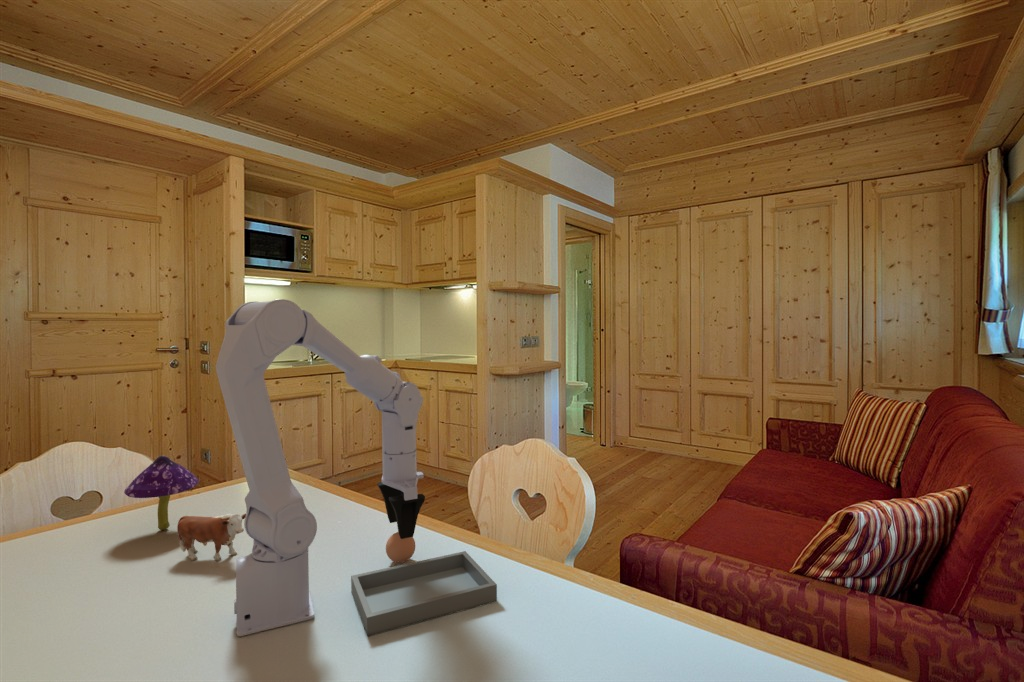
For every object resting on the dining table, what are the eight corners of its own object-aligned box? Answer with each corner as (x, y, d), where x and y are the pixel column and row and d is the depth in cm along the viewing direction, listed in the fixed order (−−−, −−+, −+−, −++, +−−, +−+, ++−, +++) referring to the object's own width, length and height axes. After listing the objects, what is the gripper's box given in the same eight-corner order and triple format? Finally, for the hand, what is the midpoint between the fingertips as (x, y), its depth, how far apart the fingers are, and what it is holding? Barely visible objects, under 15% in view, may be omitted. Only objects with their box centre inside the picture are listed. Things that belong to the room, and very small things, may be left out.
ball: (389, 570, 84) (389, 540, 84) (383, 558, 89) (382, 530, 88) (419, 564, 86) (418, 535, 86) (411, 552, 91) (410, 525, 91)
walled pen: (367, 636, 66) (367, 617, 66) (351, 592, 77) (351, 575, 77) (496, 601, 74) (496, 584, 74) (465, 565, 86) (465, 551, 86)
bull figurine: (238, 566, 86) (237, 518, 86) (171, 559, 89) (170, 513, 89) (256, 554, 90) (255, 509, 90) (191, 549, 93) (190, 504, 93)
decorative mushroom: (181, 540, 97) (179, 462, 96) (109, 544, 95) (107, 465, 95) (211, 516, 109) (209, 447, 109) (148, 519, 108) (146, 449, 107)
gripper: (435, 457, 82) (436, 539, 83) (411, 439, 95) (412, 511, 96) (391, 462, 79) (393, 548, 80) (372, 444, 92) (374, 518, 92)
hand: (400, 529), depth 87 cm, fingers open, 7 cm apart
